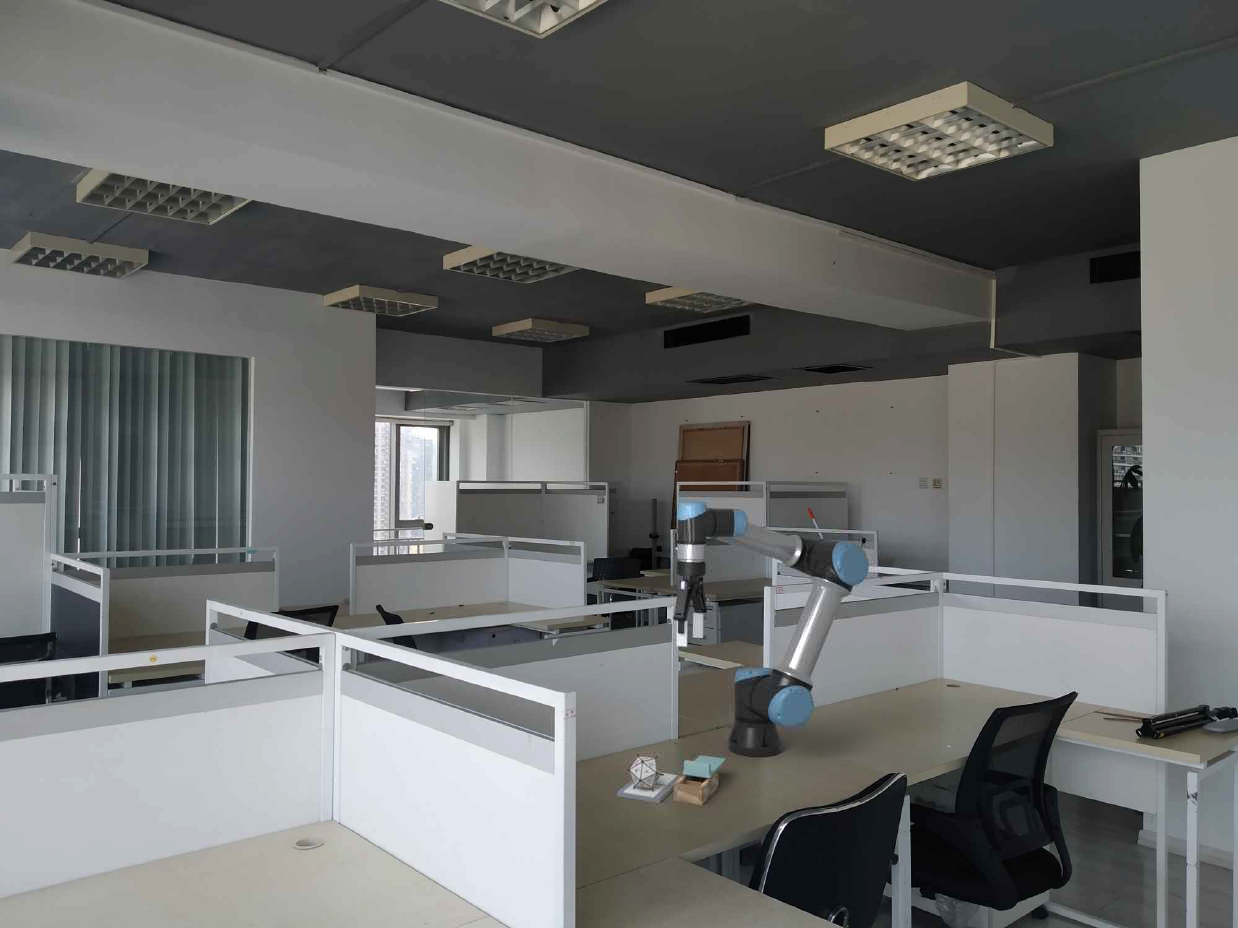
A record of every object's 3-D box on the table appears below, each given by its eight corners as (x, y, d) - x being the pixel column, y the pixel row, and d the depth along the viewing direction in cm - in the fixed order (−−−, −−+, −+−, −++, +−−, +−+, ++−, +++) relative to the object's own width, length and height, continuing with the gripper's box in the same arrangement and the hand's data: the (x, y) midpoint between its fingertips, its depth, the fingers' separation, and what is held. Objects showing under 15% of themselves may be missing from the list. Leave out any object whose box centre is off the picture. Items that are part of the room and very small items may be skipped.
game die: (645, 806, 218) (638, 781, 212) (624, 785, 224) (616, 760, 218) (673, 783, 222) (667, 758, 216) (651, 763, 228) (644, 738, 222)
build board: (643, 773, 234) (643, 769, 234) (683, 779, 230) (683, 775, 230) (617, 796, 218) (617, 791, 218) (659, 802, 213) (659, 797, 213)
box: (691, 782, 228) (692, 766, 228) (718, 786, 225) (718, 770, 225) (673, 800, 215) (673, 783, 215) (701, 804, 212) (701, 787, 213)
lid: (699, 758, 234) (700, 745, 234) (725, 761, 232) (726, 749, 232) (682, 774, 221) (683, 761, 221) (710, 778, 219) (710, 764, 219)
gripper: (692, 556, 248) (691, 633, 247) (661, 563, 225) (660, 648, 224) (718, 557, 245) (717, 635, 244) (690, 564, 222) (689, 651, 221)
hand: (690, 641), depth 234 cm, fingers open, 13 cm apart
